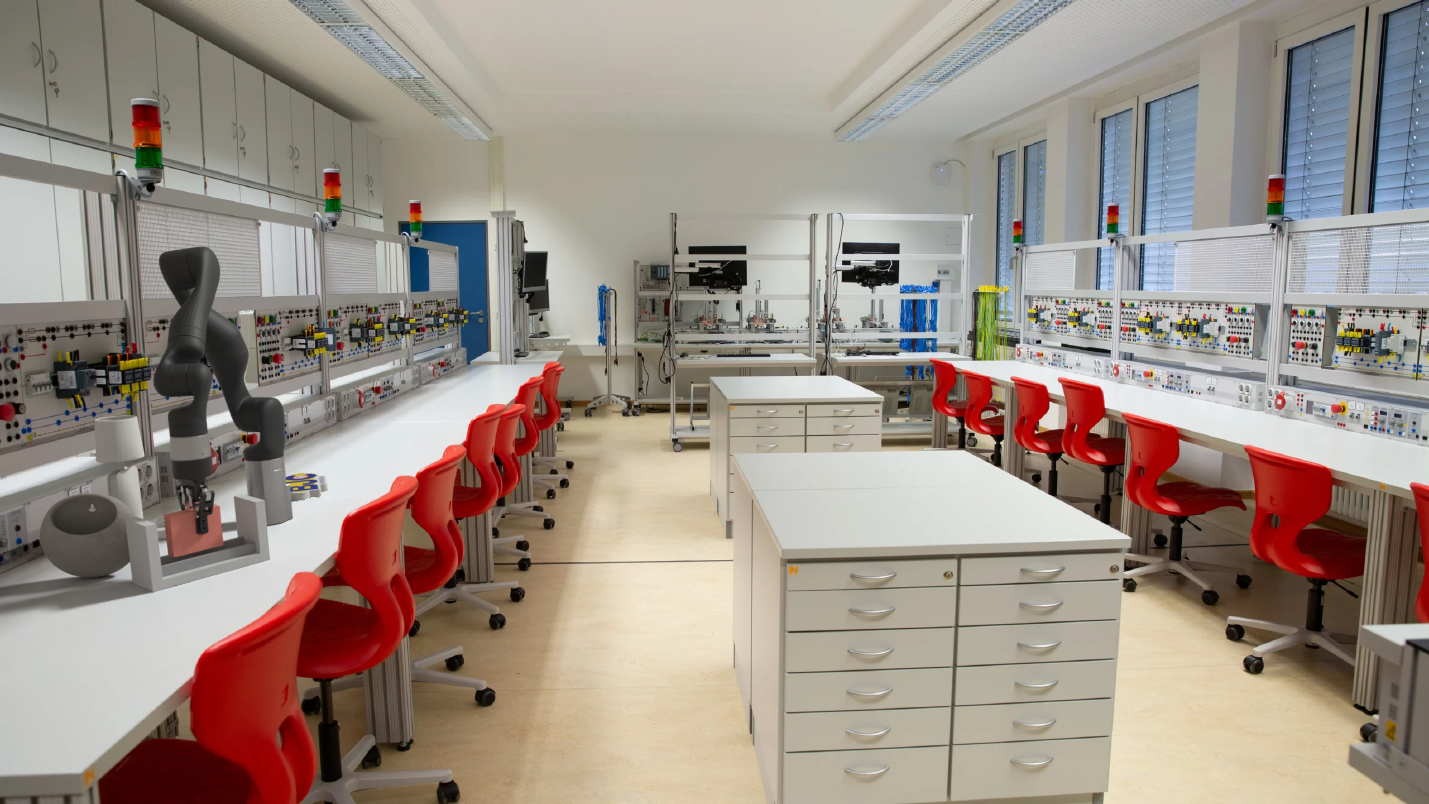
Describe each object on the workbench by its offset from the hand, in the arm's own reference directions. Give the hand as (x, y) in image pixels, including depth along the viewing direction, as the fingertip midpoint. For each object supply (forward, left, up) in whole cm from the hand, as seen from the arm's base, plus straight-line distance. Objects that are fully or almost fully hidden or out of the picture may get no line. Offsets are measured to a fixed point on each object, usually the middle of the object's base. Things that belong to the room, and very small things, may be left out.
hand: (198, 532), depth 183 cm
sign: (-49, -53, -10) cm, 73 cm away
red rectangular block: (+1, 0, -4) cm, 4 cm away
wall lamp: (-6, -40, -9) cm, 41 cm away
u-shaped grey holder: (0, 0, -9) cm, 9 cm away
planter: (+15, -15, -9) cm, 23 cm away
